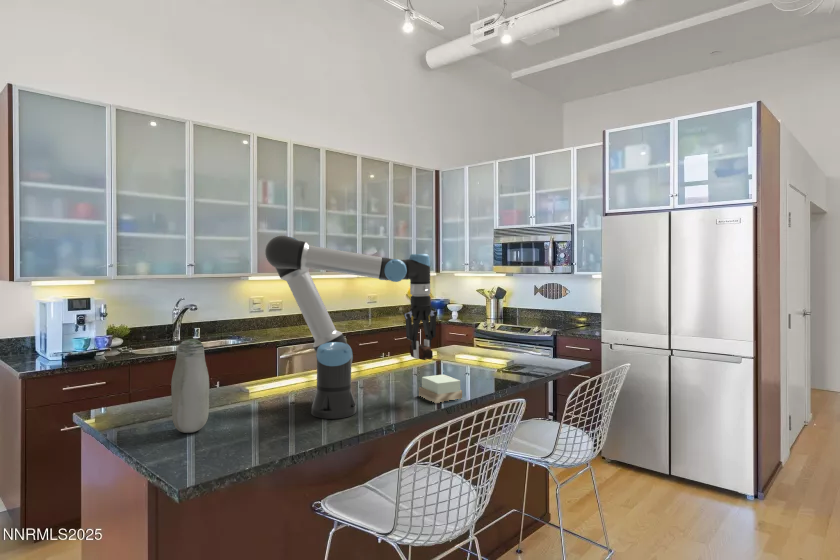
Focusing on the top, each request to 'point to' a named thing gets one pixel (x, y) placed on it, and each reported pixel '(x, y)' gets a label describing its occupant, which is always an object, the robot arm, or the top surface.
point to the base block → (439, 395)
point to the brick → (423, 352)
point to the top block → (441, 384)
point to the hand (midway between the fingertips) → (421, 357)
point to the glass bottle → (190, 387)
